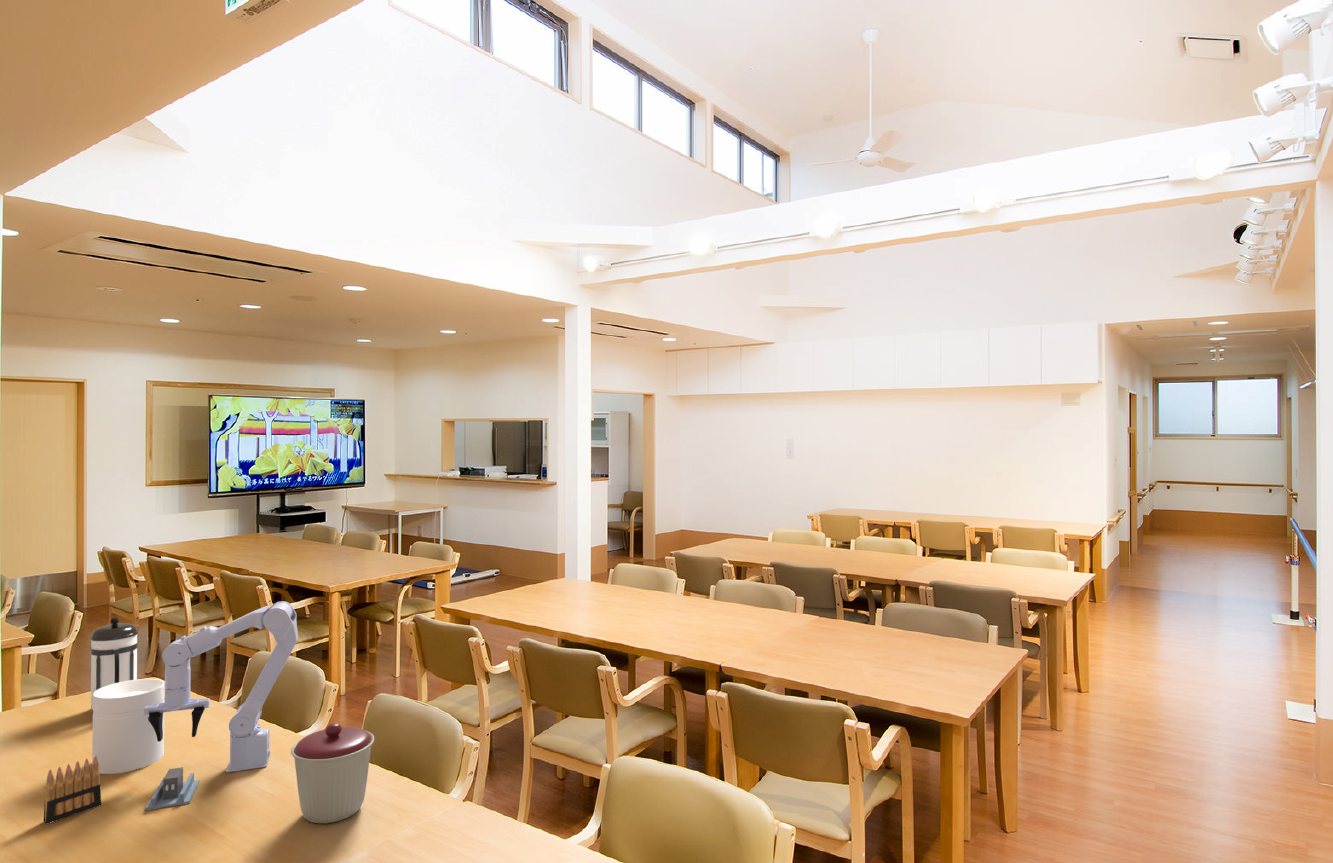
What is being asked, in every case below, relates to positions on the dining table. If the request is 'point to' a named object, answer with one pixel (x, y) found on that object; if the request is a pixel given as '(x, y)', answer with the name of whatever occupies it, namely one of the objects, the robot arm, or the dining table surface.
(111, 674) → the coffee press
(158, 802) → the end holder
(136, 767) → the canister
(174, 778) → the charcoal plug
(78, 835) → the dining table surface
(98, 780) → the ammunition clip
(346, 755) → the canister
